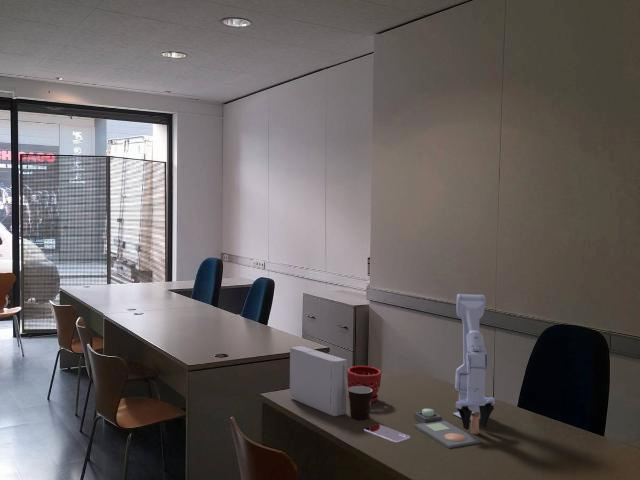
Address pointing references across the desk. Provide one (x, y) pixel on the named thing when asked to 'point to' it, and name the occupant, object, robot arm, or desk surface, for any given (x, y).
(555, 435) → the desk surface
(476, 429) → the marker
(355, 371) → the plant pot
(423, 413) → the button
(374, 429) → the mobile phone
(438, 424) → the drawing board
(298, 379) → the game console
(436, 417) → the button housing
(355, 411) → the coffee mug
